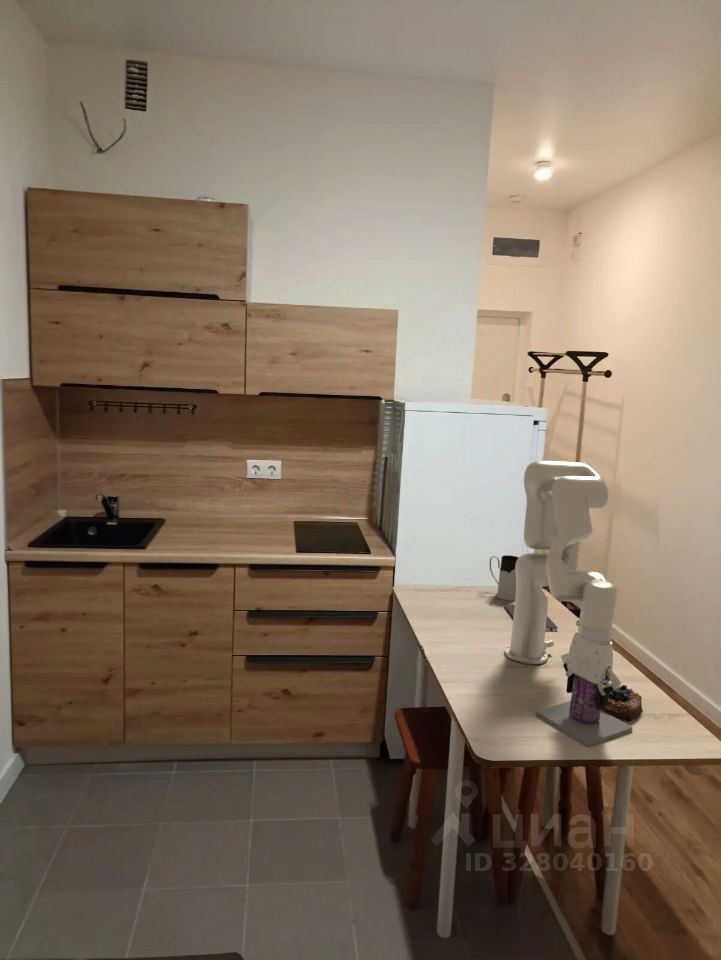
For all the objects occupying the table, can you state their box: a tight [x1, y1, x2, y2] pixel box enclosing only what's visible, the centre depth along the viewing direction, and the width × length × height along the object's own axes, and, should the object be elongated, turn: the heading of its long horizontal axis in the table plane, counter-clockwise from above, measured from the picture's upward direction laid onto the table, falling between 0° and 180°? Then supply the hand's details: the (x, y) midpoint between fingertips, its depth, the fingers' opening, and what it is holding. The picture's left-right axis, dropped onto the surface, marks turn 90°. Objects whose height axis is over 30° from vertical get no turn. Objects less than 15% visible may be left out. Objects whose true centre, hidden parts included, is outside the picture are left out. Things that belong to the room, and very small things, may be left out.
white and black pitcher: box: [489, 554, 520, 601], centre depth 258 cm, size 9×14×15 cm, turn 41°
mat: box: [535, 700, 634, 748], centre depth 166 cm, size 16×16×1 cm
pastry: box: [601, 682, 644, 722], centre depth 174 cm, size 11×12×6 cm
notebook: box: [503, 604, 559, 632], centre depth 235 cm, size 13×2×21 cm
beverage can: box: [569, 675, 605, 723], centre depth 165 cm, size 7×7×12 cm
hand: (586, 699), depth 165 cm, fingers open, 8 cm apart
